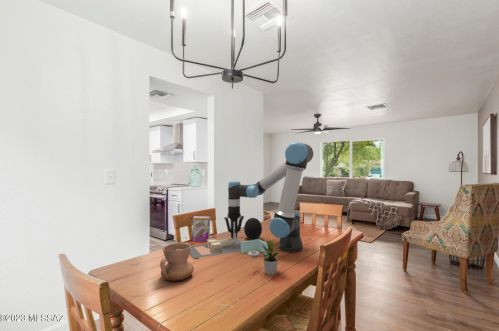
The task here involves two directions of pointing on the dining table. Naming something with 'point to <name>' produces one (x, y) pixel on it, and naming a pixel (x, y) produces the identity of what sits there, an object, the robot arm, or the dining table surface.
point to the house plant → (270, 257)
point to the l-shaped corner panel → (253, 247)
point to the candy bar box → (201, 229)
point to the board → (205, 251)
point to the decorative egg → (253, 228)
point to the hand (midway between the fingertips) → (233, 242)
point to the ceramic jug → (176, 262)
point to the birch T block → (220, 244)
